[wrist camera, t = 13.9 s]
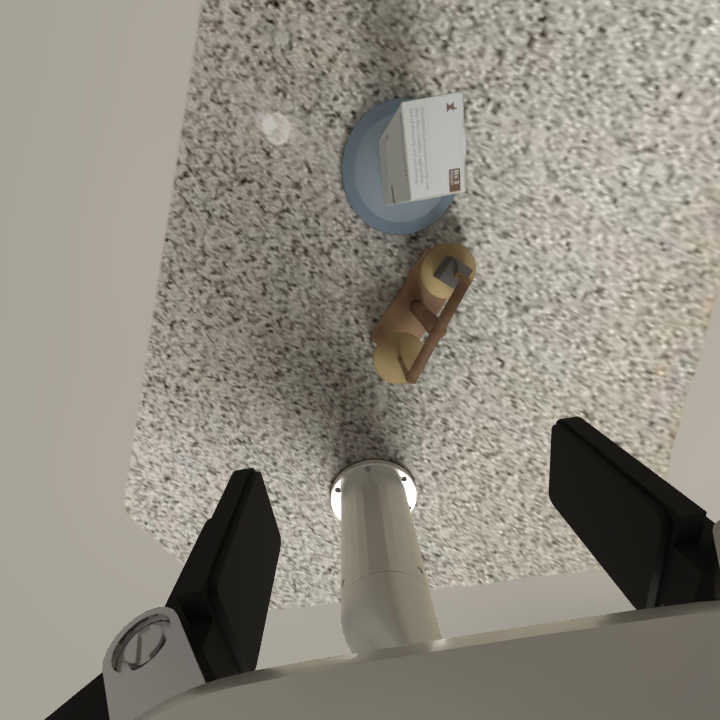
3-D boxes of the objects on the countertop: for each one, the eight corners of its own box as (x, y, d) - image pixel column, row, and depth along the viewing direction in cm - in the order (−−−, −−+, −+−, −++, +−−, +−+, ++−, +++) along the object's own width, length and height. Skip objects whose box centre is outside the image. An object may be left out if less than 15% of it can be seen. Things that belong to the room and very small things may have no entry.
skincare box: (376, 140, 33) (394, 95, 21) (422, 132, 33) (465, 83, 21) (384, 209, 35) (405, 201, 24) (428, 202, 35) (468, 191, 24)
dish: (461, 224, 37) (464, 224, 36) (352, 243, 37) (353, 243, 36) (454, 91, 33) (458, 86, 31) (331, 113, 33) (331, 109, 32)
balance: (398, 368, 43) (419, 420, 32) (360, 348, 42) (367, 394, 30) (473, 258, 38) (529, 272, 27) (433, 231, 37) (473, 233, 26)
